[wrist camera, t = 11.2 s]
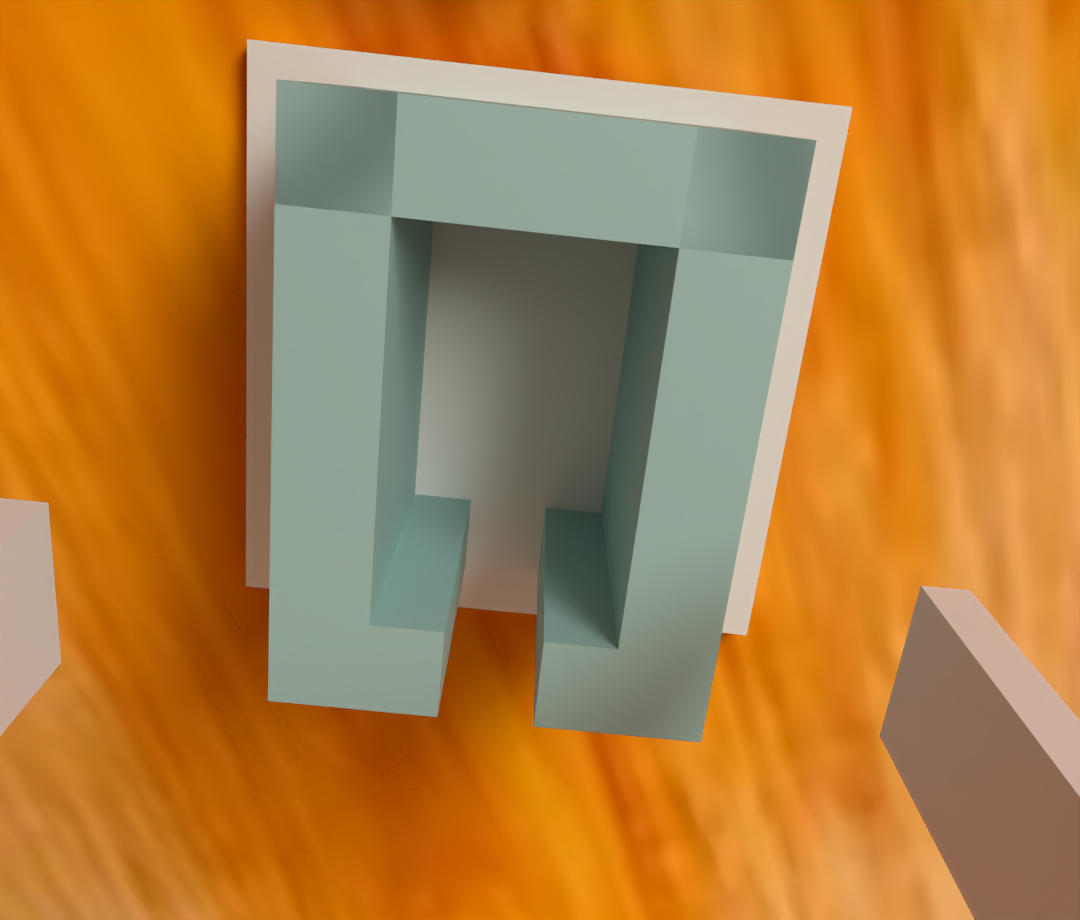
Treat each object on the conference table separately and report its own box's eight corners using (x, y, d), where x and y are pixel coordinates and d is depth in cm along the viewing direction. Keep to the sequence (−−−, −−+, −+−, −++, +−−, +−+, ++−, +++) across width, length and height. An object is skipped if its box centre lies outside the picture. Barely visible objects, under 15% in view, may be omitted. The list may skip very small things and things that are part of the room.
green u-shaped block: (355, 86, 23) (275, 79, 16) (740, 129, 23) (816, 140, 16) (337, 554, 27) (267, 701, 20) (663, 586, 27) (700, 742, 20)
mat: (254, 40, 23) (247, 39, 22) (845, 106, 23) (852, 106, 23) (251, 576, 28) (245, 586, 27) (742, 624, 28) (746, 634, 28)
